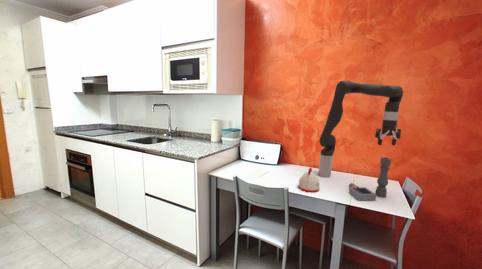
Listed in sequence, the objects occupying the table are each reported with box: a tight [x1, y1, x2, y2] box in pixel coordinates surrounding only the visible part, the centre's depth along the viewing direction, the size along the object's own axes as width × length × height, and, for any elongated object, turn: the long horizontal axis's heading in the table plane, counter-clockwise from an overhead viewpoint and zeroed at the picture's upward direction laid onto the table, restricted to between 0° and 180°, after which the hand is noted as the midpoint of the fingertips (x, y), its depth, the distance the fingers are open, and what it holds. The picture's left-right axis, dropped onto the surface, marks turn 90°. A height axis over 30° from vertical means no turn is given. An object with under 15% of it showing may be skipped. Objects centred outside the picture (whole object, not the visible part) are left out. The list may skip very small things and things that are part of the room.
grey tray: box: [348, 182, 377, 202], centre depth 146 cm, size 18×11×5 cm, turn 3°
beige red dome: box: [297, 166, 320, 194], centre depth 152 cm, size 14×14×15 cm
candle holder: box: [374, 156, 392, 198], centre depth 143 cm, size 6×6×25 cm
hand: (386, 145), depth 138 cm, fingers open, 8 cm apart
